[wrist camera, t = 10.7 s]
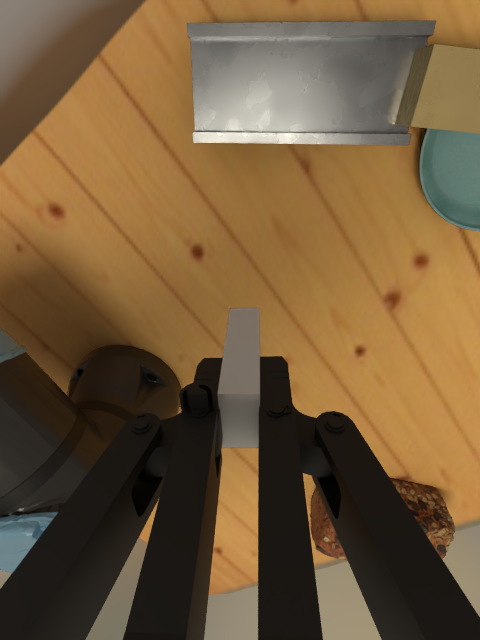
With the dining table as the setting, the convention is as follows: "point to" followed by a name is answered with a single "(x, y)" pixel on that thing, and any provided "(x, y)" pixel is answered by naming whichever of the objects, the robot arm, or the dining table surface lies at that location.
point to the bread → (419, 501)
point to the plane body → (302, 81)
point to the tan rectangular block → (443, 90)
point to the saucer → (452, 176)
